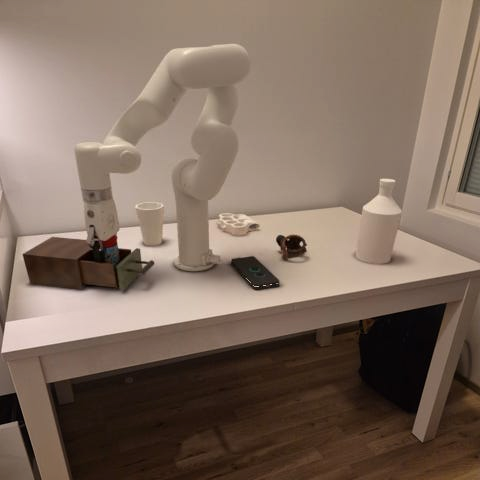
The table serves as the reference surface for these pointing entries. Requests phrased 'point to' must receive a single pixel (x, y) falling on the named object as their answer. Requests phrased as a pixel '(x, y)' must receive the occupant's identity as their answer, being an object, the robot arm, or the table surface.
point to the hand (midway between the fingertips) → (107, 257)
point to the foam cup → (151, 222)
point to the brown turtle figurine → (291, 246)
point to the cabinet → (57, 262)
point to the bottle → (379, 226)
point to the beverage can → (111, 251)
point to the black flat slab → (254, 272)
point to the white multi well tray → (237, 223)
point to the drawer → (106, 271)
